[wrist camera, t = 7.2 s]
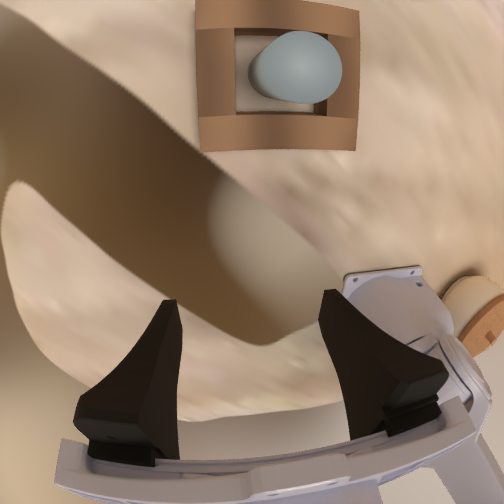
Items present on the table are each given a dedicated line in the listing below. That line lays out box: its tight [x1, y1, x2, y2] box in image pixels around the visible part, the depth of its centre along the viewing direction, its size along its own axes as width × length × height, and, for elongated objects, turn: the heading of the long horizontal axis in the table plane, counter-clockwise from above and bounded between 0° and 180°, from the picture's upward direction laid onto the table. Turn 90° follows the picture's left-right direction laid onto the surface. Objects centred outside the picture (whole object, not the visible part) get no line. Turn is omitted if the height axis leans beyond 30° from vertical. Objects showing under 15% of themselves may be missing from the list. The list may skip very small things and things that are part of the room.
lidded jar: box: [441, 276, 504, 357], centre depth 27 cm, size 11×11×9 cm
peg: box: [248, 31, 342, 104], centre depth 13 cm, size 4×4×7 cm
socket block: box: [195, 0, 360, 153], centre depth 15 cm, size 10×10×2 cm
